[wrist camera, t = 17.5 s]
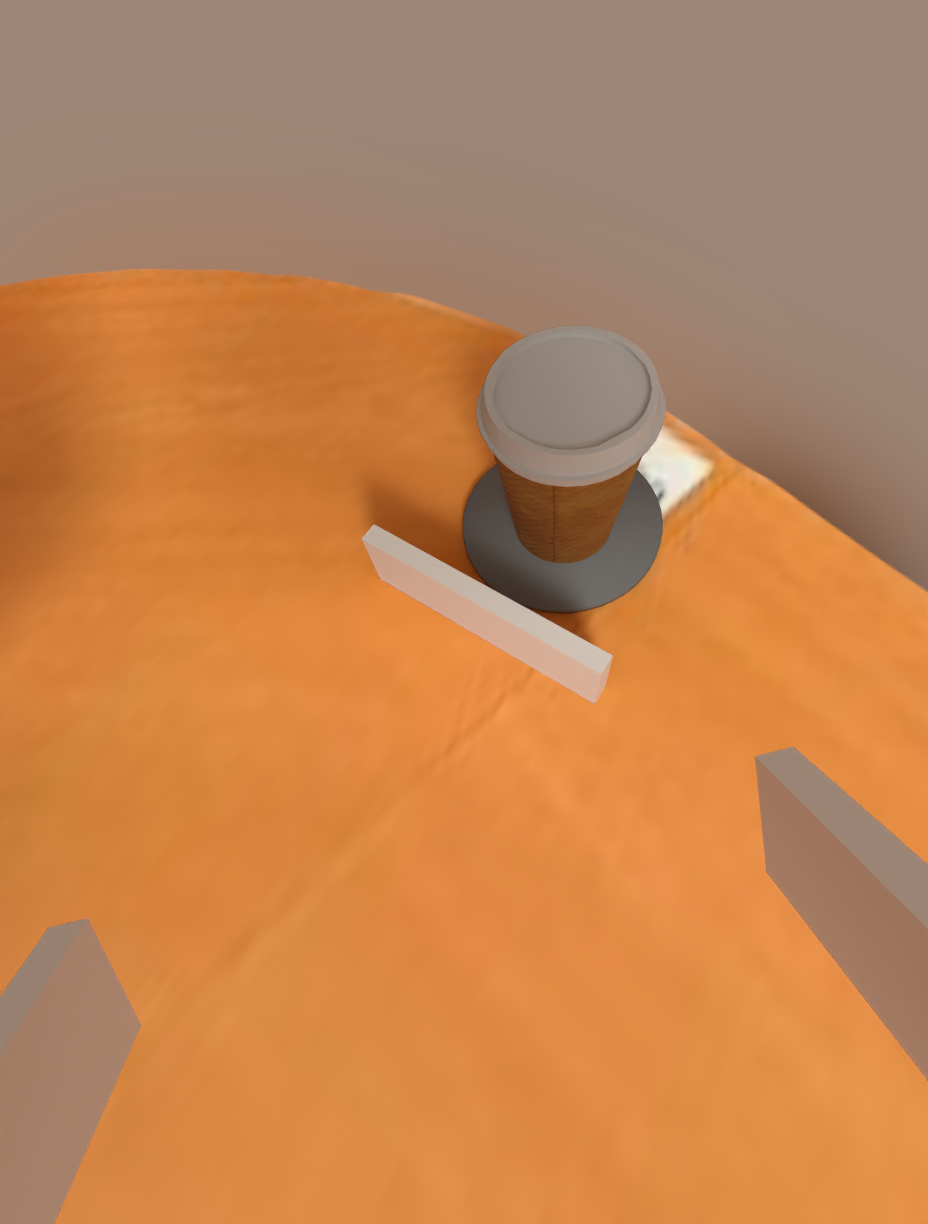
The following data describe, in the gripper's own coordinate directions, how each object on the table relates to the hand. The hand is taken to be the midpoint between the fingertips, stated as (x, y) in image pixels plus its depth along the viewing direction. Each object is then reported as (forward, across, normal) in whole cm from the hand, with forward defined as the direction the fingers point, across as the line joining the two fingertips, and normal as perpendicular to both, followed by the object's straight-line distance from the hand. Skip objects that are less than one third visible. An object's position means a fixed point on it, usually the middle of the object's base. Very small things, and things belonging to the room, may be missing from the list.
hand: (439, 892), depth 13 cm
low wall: (+28, +3, -5) cm, 29 cm away
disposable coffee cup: (+32, +10, 0) cm, 33 cm away
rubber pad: (+32, +10, 0) cm, 34 cm away
